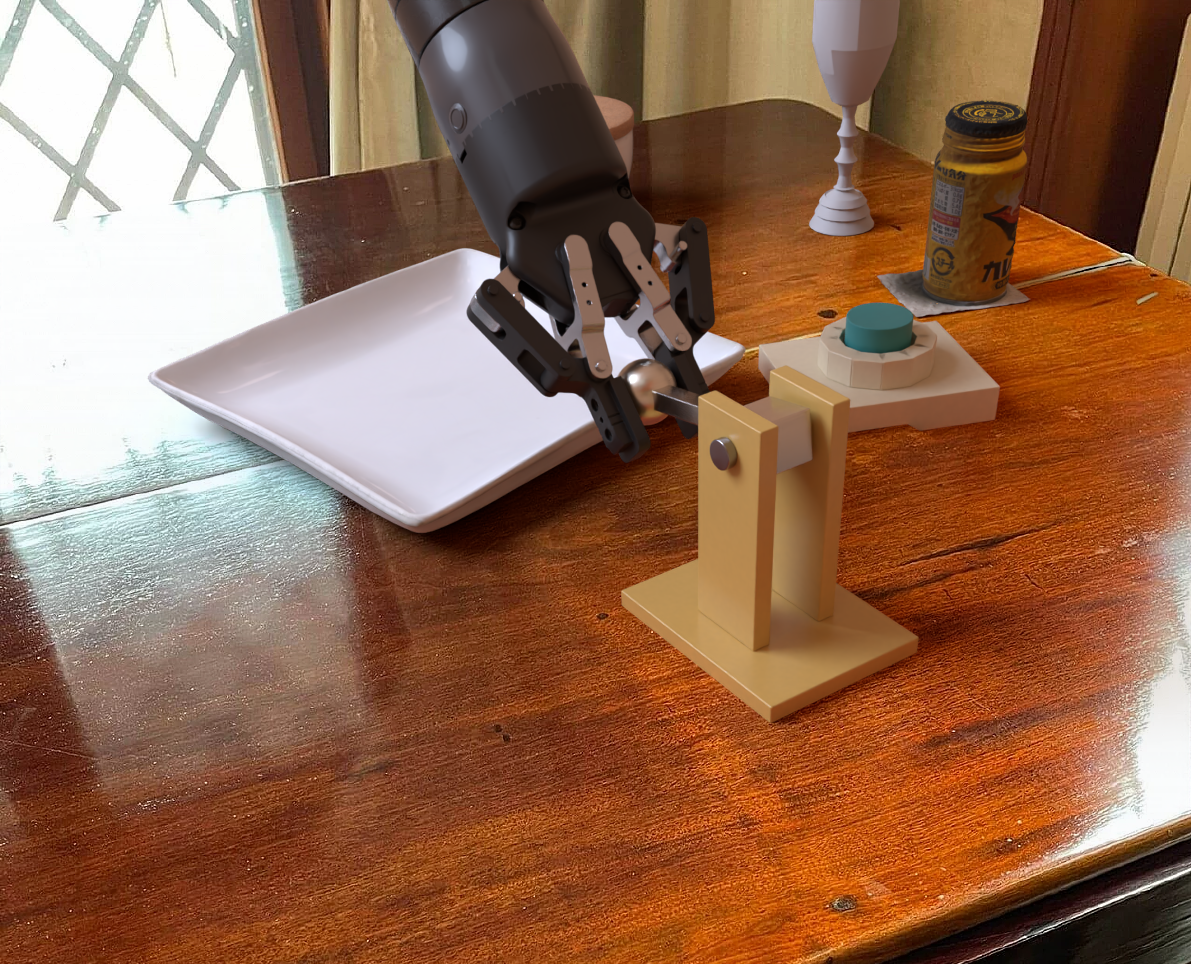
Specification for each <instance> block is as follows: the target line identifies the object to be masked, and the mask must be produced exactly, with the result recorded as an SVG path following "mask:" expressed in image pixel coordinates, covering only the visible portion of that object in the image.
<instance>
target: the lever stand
mask: <svg viewBox="0 0 1191 964" xmlns="http://www.w3.org/2000/svg"><path fill="white" fill-rule="evenodd" d="M768 385H769V387H768V388H769V389H768V397H769V396H772V397H775V398H778V399H782V400H785V401H788V402H791V403H795V404H798V405H801V406H804V407H808V408H810V415H811V433H812V451H813V460H812V461H809V462H807V463H804V464H802V465H799V466H797V467H794V468H792V469H789V470H786V471H784V472H781V473H779V474H777V452H778V429H779V427H778V426H777V425H775V424H774V423H772V422H770V421H768V420H767V419H765V418H763V417H761V416H760V415H758V414H756V413H755V412H753V411H751V410H749V409H748V408H746V407H744V405H743V404H741V403H740V402H737V401H736V400H733V399H732V398H730V397H728V396H727V395H725V394H723V393H721V392H720V391H718V390H712V391H710V392H709V393H707V394H704V395H701V396H699V397H698V436H697V437H698V441H697V443H698V444H697V445H698V450H697V452H698V453H697V456H698V457H697V459H698V460H697V463H698V465H697V469H698V470H697V472H698V473H697V475H698V476H697V479H698V480H697V482H698V483H697V488H698V489H697V534H698V535H697V549H698V550H697V552H698V553H697V554H698V555H697V557H698V558H696V559H694V560H692V561H689V562H687V563H685V564H682V565H680V566H678V567H675V568H672V569H670V570H668V571H665V572H663V573H660V574H657V575H655V576H652V577H651V578H648V579H646V580H643V581H640V582H639V583H636V584H633V585H632V586H629V587H626V588H624V589H622V590H621V591H620V596H621V597H620V598H621V606H622V607H623V608H624V609H626V610H627V612H629V613H630V614H632V615H633V616H634V617H636V618H637V619H638V620H639V621H641V622H642V623H643V624H644V625H646V626H647V627H648V628H649V629H651V630H652V631H653V632H655V633H656V634H657V635H658V636H660V637H661V638H662V639H663V640H665V641H666V642H667V643H669V645H671V646H672V647H673V648H675V649H676V650H677V651H678V652H680V653H681V654H683V656H685V657H686V658H687V659H689V660H690V661H691V662H693V663H694V664H695V665H696V666H697V667H699V668H700V669H701V670H702V671H704V672H705V673H706V674H708V675H709V676H710V677H711V678H713V679H714V680H715V681H716V682H718V683H719V685H722V686H723V687H724V688H725V689H727V690H728V691H729V692H730V693H732V694H733V695H734V696H735V697H737V698H738V699H739V700H740V701H742V702H743V703H744V704H745V705H747V706H748V707H749V708H751V710H753V711H754V712H756V713H757V714H758V715H759V716H761V717H762V718H763V719H765V720H766V721H767V722H768V723H770V724H772V723H774V722H776V721H778V720H780V719H782V718H784V717H786V716H788V715H790V714H793V713H795V712H797V711H798V710H801V709H803V708H805V707H807V706H809V705H811V704H814V703H815V702H817V701H819V700H821V699H824V698H826V697H828V696H829V695H832V694H834V693H836V692H838V691H840V690H842V689H844V688H846V687H848V686H851V685H852V684H855V683H857V682H859V681H862V680H863V679H865V678H867V677H870V676H871V675H873V674H875V673H877V672H879V671H882V670H883V669H886V668H888V667H890V666H892V665H894V664H896V663H898V662H900V661H902V660H904V659H906V658H909V657H911V656H913V655H914V654H917V653H918V646H919V636H918V635H916V634H914V633H913V632H912V631H911V630H909V629H907V628H906V627H904V626H902V625H901V624H899V623H898V622H896V621H895V620H893V619H892V618H890V617H889V616H887V615H886V614H885V613H883V612H881V611H880V610H878V609H877V608H875V607H874V606H872V605H871V604H869V603H868V602H866V601H865V600H863V599H862V598H860V597H859V596H857V595H856V594H854V593H853V592H851V591H850V590H848V589H847V588H845V587H844V586H842V585H840V584H839V583H838V582H837V575H838V563H839V551H840V537H841V524H842V514H843V512H842V511H843V501H844V489H845V487H844V486H845V476H846V475H845V474H846V463H847V462H846V461H847V448H848V436H849V432H848V425H849V412H850V399H849V398H848V397H846V396H844V395H842V394H840V393H838V392H836V391H834V390H832V389H831V388H829V387H827V386H825V385H823V384H821V383H819V382H817V381H815V380H813V379H812V378H810V377H808V376H806V375H804V374H802V373H800V372H798V371H796V370H795V369H793V368H791V367H789V366H786V365H785V366H782V367H780V368H777V369H774V370H771V371H770V383H768Z"/></svg>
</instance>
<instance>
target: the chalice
mask: <svg viewBox="0 0 1191 964" xmlns="http://www.w3.org/2000/svg"><path fill="white" fill-rule="evenodd" d="M900 4H901V0H813V15H812V16H813V17H812V32H811V33H812V35H811V44H812V47H813V51H814V55H815V59H816V64H817V67H818V70H819V72H820V75H821V78H822V81H823V83H824V86H825V88H826V91H827V94H828V96H829V99H830V101H831V102H832V103H834V104H835V105H838V106H840V107H841V111H842V120H841V124H840V128H839V130H838V131H837V132H836V135H837V137H838V138H839V143H840V149H839V151H838V152H839V153H838V154H837V155H836V156H835V157H834V159H833V161H834V162H835V163H836V165H837V169H838V177H837V178H838V179H837V182H836V184H835V185H833V188H831V189H829V190H827V191H825V192H824V193H823V194H822V196H821V197H820V198H819V201H818V202H819V203H818V204H817V206H816V207H815V209H814V214H813V216H812V217H811V219H810V220H809V224H808V226H809V227H810V228H811V229H812V230H813V231H814V232H817V233H820V234H823V235H828V236H839V237H840V236H841V237H843V236H844V237H845V236H855V235H859V234H860V235H861V234H864V233H866V232H868V231H870V230H871V229H873V228H874V226H875V221H874V220H873V218H872V216H871V209H870V207H869V205H868V204H867V203H868V199H867V198H866V196H865V195H864V194H863V192H862V191H860V190H859V189H856V187H855V185H854V184H853V182H852V171H853V167H854V164H856V163H857V161H858V157H857V156H856V155H855V151H854V143H855V141H856V138H857V136H858V135H859V130H857V125H856V114H857V109H858V106H861V105H864V104H865V103H867V102H868V101H869V100H870V99H871V97H872V95H873V93H874V91H875V89H876V87H877V85H878V83H879V81H880V80H881V78H882V75H883V73H884V71H885V69H886V68H887V64H888V62H889V59H890V56H891V54H892V51H893V48H894V46H895V44H896V41H897V39H898V37H897V36H898V26H899V17H900V15H899V14H900Z"/></svg>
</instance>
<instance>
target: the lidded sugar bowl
mask: <svg viewBox="0 0 1191 964" xmlns="http://www.w3.org/2000/svg"><path fill="white" fill-rule="evenodd" d="M593 95H594V94H593ZM594 98H595V100H596V102H597V104H598V106H599V108H600V111H601V113H602V115H603V117H604V119H605V121H606V124H607V126H608V128H609V130H610V132H611V134H612V137H613V139H614V141H615V143H616V145H617V147H618V150H619V152H620V154H621V156H622V158H623V160H624V163H625V165H626V168H627V173H628V178H629V179H630V176H631V172H632V166H633V156H634V127H635V112H634V109H633V108H632V106H630V105H629V104H628V103H626V102H624V101H622V100H619V99H616V98H612V97H609V96H602V95H594Z"/></svg>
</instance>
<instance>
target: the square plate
mask: <svg viewBox="0 0 1191 964" xmlns="http://www.w3.org/2000/svg"><path fill="white" fill-rule="evenodd" d="M499 273H500V257H499V256H496V255H492V254H490V253H487V252H483V251H480V250H477V249H473V248H467V247H463V248H458V249H455V250H452V251H449V252H446V253H444V254H440V255H438V256H434V257H433V258H429V259H427V260H424V261H422V262H419V263H416V264H412V265H409V266H407V267H405V268H401V269H399V270H396V271H392V272H390V273H388V274H384V275H382V276H380V277H376V278H374V279H371V280H368V281H366V282H365V281H364V282H363V283H360V284H357V285H355V286H352V287H350V288H348V289H345V290H343V291H339V292H337V293H334V294H332V295H329V296H327V297H324V298H321V299H319V300H316V301H314V302H311V303H309V304H306V305H304V306H302V307H299V308H296V309H294V310H292V311H290V312H287V313H285V314H282V315H280V316H278V317H274V318H273V319H270V320H267V321H265V322H263V323H261V324H258V325H256V326H254V327H251V328H248V329H246V330H243V331H241V332H239V333H237V334H235V335H233V336H230V337H228V338H226V339H223V340H221V341H218V342H216V343H214V344H212V345H210V346H207V347H205V348H203V349H200V350H198V351H196V352H194V353H192V354H189V355H187V356H185V357H182V358H180V359H178V360H177V359H176V360H175V361H173V362H169V363H168V364H166V365H164V366H161V367H159V368H157V369H155V370H153V371H151V372H149V373H148V375H147V380H148V382H149V384H151V385H153V386H154V387H156V388H157V389H159V390H160V391H162V392H163V393H164V394H166V395H167V396H168V397H170V398H172V399H173V400H175V401H176V402H178V403H180V404H181V405H183V406H184V407H186V408H187V409H189V410H190V411H192V412H194V413H196V414H197V415H199V416H200V417H203V418H205V419H207V420H208V421H210V422H212V423H214V424H216V425H218V426H220V427H222V428H224V429H226V430H227V431H231V432H232V433H235V434H236V435H238V436H240V437H242V438H244V439H245V440H248V441H250V442H252V443H254V444H255V445H256V446H257V445H258V446H259V447H261V448H263V449H265V450H266V451H269V452H270V453H272V454H274V455H275V456H277V457H279V458H281V459H283V460H285V461H287V462H288V463H290V464H292V465H294V466H296V467H297V468H299V469H300V470H302V471H304V472H305V473H307V474H309V475H311V476H313V477H314V478H316V479H317V480H319V481H321V482H323V483H324V484H326V485H327V486H329V487H330V488H333V489H334V490H336V491H337V492H339V493H340V494H342V495H344V496H345V497H347V498H348V499H351V500H352V501H354V502H355V503H356V504H358V505H360V506H362V507H363V508H365V509H366V510H368V511H370V512H372V513H374V514H376V515H377V516H379V517H382V518H383V519H385V520H387V521H389V522H391V523H392V524H394V525H397V526H399V527H401V528H404V529H405V530H408V531H410V532H413V533H418V534H426V533H430V532H434V531H436V530H439V529H441V528H444V527H446V526H449V525H452V524H453V523H456V522H457V521H459V520H461V519H463V518H465V517H467V516H469V515H471V514H472V513H475V512H476V511H479V510H480V509H482V508H484V507H486V506H488V505H490V504H491V503H493V502H495V501H497V500H498V499H501V498H502V497H503V496H506V495H507V494H508V493H511V492H512V491H514V490H516V489H518V488H520V487H521V486H523V485H525V484H527V483H528V482H530V481H532V480H534V479H536V478H537V477H539V476H541V475H543V474H545V473H546V472H548V471H550V470H552V469H553V468H555V467H556V466H558V465H561V464H562V463H564V462H566V461H567V460H569V459H572V458H574V457H575V456H576V455H578V454H580V453H582V452H584V451H585V450H588V449H589V448H592V447H593V446H595V445H597V444H599V443H602V442H604V441H603V439H602V435H601V434H600V432H599V430H598V428H597V426H596V424H595V421H594V419H593V417H592V415H591V413H590V411H589V409H588V406H587V404H586V402H585V401H584V400H583V399H582V398H581V397H579V396H578V395H576V394H573V393H558V394H557V395H556V396H554V397H546V396H544V395H542V394H541V393H540V392H539V391H538V390H537V389H536V388H535V387H534V386H533V385H532V384H531V383H530V382H529V381H528V380H527V379H526V378H525V377H524V376H523V375H522V374H521V373H520V372H519V371H518V369H517V368H516V367H515V366H514V365H513V364H512V363H511V362H510V361H509V360H508V359H507V358H506V357H505V356H504V355H503V354H502V353H501V352H500V351H499V350H498V349H497V348H496V347H495V346H494V345H493V344H492V343H491V342H490V341H489V340H488V339H487V338H486V337H485V336H484V335H483V334H482V333H481V332H480V331H479V330H478V329H477V328H476V327H475V326H474V325H473V323H472V322H471V321H470V320H469V319H468V317H467V313H466V311H467V307H468V306H469V304H470V302H471V299H472V298H473V296H474V294H475V293H476V291H477V289H478V288H479V287H480V286H481V284H482V282H483V281H484V280H486V279H494V278H495V277H496V276H497V275H498V274H499ZM523 299H524V301H525V309H526V310H527V311H528V312H529V313H530V314H531V315H532V316H533V317H534V318H535V319H536V320H537V321H538V322H539V323H540V324H541V325H542V326H543V327H544V328H545V329H546V330H547V331H548V333H549V334H550V335H551V336H552V337H553V338H554V339H555V337H554V333H553V329H552V326H551V322H550V318H549V314H548V313H546V312H545V311H543V310H542V309H540V308H539V307H538V306H536V305H535V304H533V303H532V302H530V301H529V300H528V299H526V298H525V297H523ZM635 304H636V306H637V307H639V306H640V304H637V303H635ZM604 336H605V340H606V344H607V348H608V351H609V355H610V359H611V363H612V367H613V370H612V375H613V378H616V377H617V376H618V374H619V373H620V371H621V370H622V369H623V368H624V367H625V366H626V365H627V364H629V363H630V362H632V361H635V360H638V359H643V358H648V357H647V356H646V354H645V353H644V351H643V350H642V349H641V347H640V346H639V344H638V343H637V341H636V340H635V339H634V338H630V337H628V336H626V335H625V333H624V332H623V331H622V329H621V328H620V326H619V325H618V323H617V322H616V320H615V319H614V317H610V318H605V328H604ZM746 351H747V349H746V347H745V346H744V345H743V344H742V343H739V342H737V341H734V340H733V339H728V338H726V337H723V336H720V335H717V334H715V333H713V332H710V331H708V332H707V333H706V334H705V335H704V336H703V337H702V338H701V339H700V340H699V341H698V342H697V343H696V344H695V345H694V347H693V355H694V358H695V360H696V362H697V364H698V366H699V369H700V371H701V373H702V375H703V377H704V379H705V383H706V384H707V386H708V387H710V386H711V385H713V384H714V383H715V382H716V381H718V380H719V379H720V378H721V377H722V376H724V375H725V374H726V373H727V372H729V370H731V368H732V367H734V366H735V365H736V364H737V363H739V362H740V361H741V360H742V359H743V357H744V354H745V353H746Z"/></svg>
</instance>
